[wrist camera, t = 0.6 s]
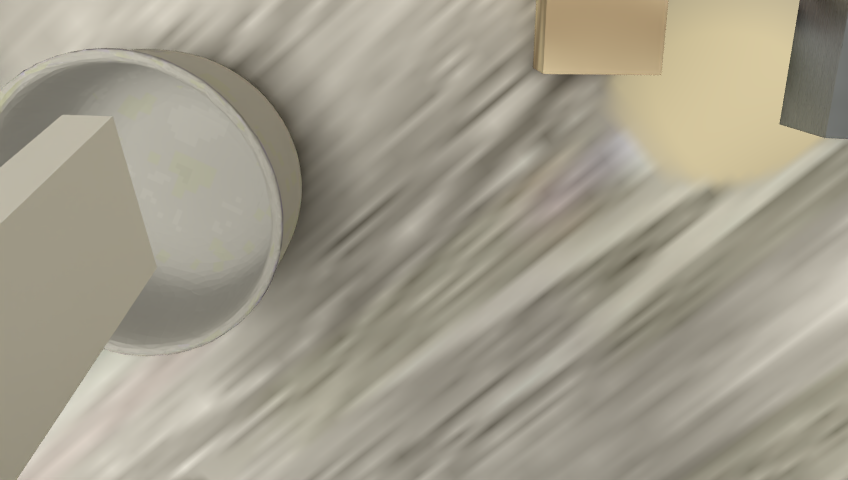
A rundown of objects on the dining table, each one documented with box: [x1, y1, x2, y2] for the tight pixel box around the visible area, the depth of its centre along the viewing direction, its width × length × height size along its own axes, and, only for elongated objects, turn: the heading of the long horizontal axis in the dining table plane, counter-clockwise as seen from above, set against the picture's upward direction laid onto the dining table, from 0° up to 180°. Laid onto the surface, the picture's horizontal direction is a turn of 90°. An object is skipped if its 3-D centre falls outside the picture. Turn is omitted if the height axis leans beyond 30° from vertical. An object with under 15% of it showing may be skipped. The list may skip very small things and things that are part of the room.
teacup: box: [0, 48, 302, 356], centre depth 28 cm, size 14×11×8 cm
